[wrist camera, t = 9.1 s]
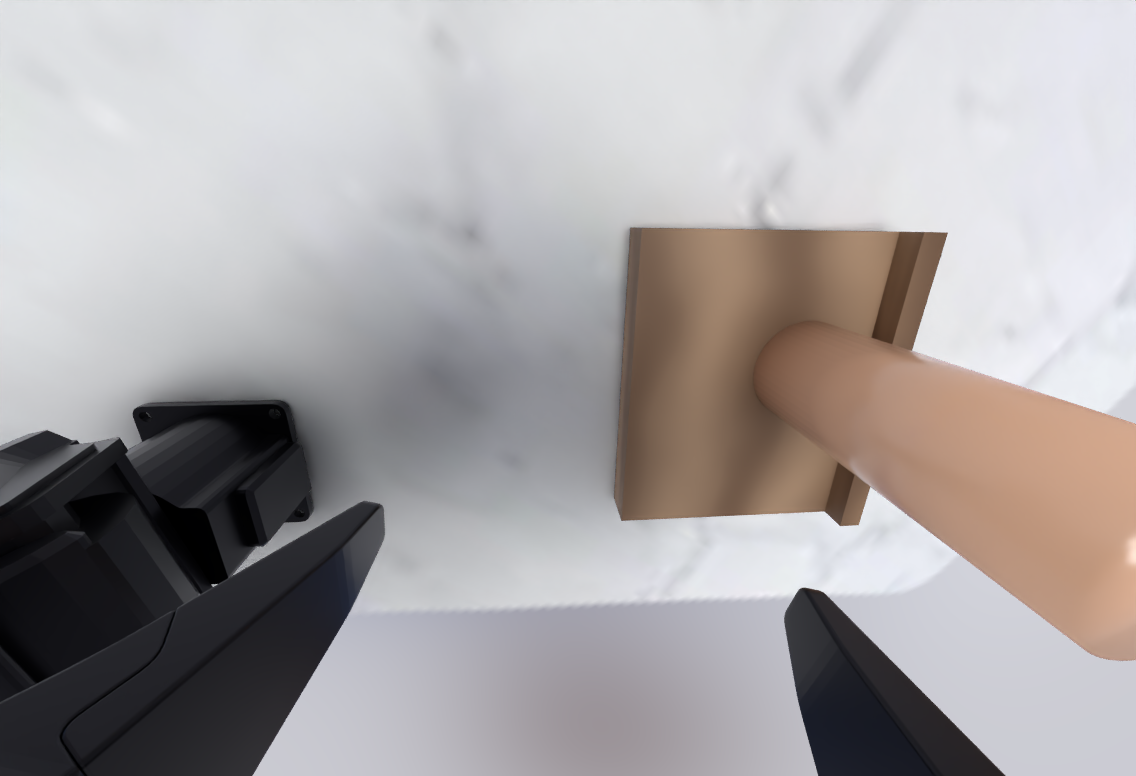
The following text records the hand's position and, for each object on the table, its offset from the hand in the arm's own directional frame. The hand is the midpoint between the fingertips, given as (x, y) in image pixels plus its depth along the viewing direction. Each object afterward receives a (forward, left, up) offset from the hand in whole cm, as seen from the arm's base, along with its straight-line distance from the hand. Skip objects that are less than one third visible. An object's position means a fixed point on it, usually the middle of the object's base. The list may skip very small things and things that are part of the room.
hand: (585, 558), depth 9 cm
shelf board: (+9, 0, -13) cm, 16 cm away
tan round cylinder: (+11, +1, -11) cm, 16 cm away
